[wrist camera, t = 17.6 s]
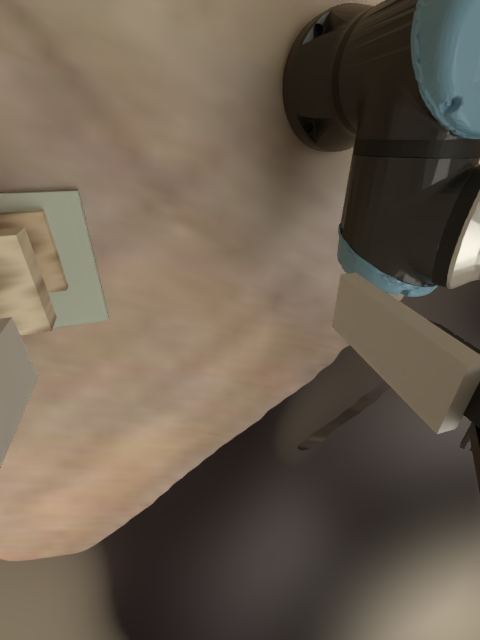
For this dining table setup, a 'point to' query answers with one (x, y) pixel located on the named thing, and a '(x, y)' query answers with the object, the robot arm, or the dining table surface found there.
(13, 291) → the stool
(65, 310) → the mat
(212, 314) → the dining table surface
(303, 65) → the robot arm
